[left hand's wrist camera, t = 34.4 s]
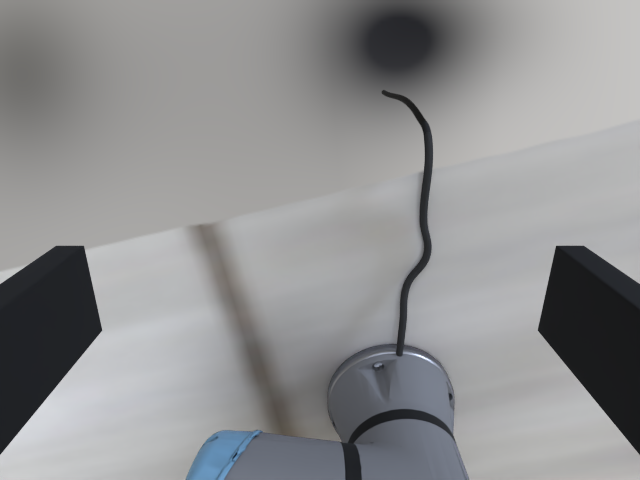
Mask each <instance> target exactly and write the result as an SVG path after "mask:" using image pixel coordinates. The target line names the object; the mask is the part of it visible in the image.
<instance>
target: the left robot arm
mask: <svg viewBox="0 0 640 480" xmlns="http://www.w3.org/2000/svg"><path fill="white" fill-rule="evenodd" d="M382 94H383V95H384V96H386V97H389V98H393V99H396V100H399V101H401V102H403V103H404V104H405V105H407V107H408V108H409V109H410V110H411V111H412V113H413V114H414V116H415V118H416V119H417V121H418V122H419V124H420V125H421V127H422V130H423V135H424V143H425V166H424V176H423V184H422V192H421V202H420V227H421V232H422V236H423V240H424V253H423V256H422V259H421V261H420V262H419V263H418V265H417V266H416V267H415V268H414V269H413V270H412V272H411V273H410V274H409V275H408V277H407V278H406V280H405V282H404V285H403V288H402V292H401V299H400V322H399V331H398V340H397V345H396V344H390V345H380V346H375V347H371V348H368V349H365V350H363V351H360V352H358V353H356V354H355V355H353V356H351V357H350V358H349V359H347V360H346V361H345V362H344V363H343V364H342V365H341V366H340V367H339V368H338V369H337V371H336V372H335V374H334V375H333V377H332V379H331V382H330V385H329V389H328V412H329V416H330V420H331V422H332V424H333V426H334V428H335V430H336V432H337V433H338V435H339V436H340V439H341V441H342V442H337V441H328V440H320V439H311V438H302V437H293V436H285V435H277V434H270V433H263V431H260V430H256V431H254V432H248V431H230V430H224V431H220V432H217V433H215V434H213V435H212V436H211V437H209V438H208V439H207V441H206V442H205V443H204V444H203V446H202V447H201V449H200V450H199V452H198V454H197V456H196V458H195V460H194V462H193V464H192V466H191V468H190V470H189V473H188V475H187V477H186V480H469V477H468V474H467V472H466V469H465V466H464V464H463V461H462V458H461V455H460V453H459V450H458V447H457V445H456V442H455V439H454V436H453V426H454V392H453V388H452V385H451V382H450V380H449V378H448V375H447V373H446V371H445V370H444V368H443V367H442V365H441V364H440V363H439V362H438V361H437V360H436V359H435V358H434V357H432V356H431V355H429V354H428V353H426V352H424V351H422V350H420V349H417V348H414V347H410V346H406V345H404V339H405V330H406V321H407V298H408V293H409V289H410V286H411V284H412V282H413V281H414V279H415V278H416V277H417V276H418V274H419V273H420V272H421V271H422V270H423V269H424V267H425V266H426V265H427V263H428V261H429V258H430V255H431V239H430V235H429V231H428V225H427V209H428V198H429V191H430V183H431V175H432V165H433V143H432V134H431V129H430V126H429V124H428V122H427V121H426V120H425V118H424V117H423V115H422V114H421V112H420V111H419V109H418V108H417V107H416V106H415V104H414V103H413V102H412V101H411V100H410V99H408V98H407V97H405V96H403V95H399V94H395V93H390V92H387V91H386V90H383V91H382ZM101 331H102V327H101V323H100V318H99V314H98V309H97V304H96V300H95V295H94V291H93V286H92V281H91V277H90V272H89V268H88V263H87V258H86V254H85V249H84V246H55V247H54V248H52V249H51V250H50V251H48V252H47V253H45V254H44V255H42V256H41V257H39V258H38V259H36V260H35V261H33V262H32V263H31V264H29V265H28V266H26V267H25V268H23V269H22V270H20V271H19V272H17V273H16V274H15V275H13V276H12V277H10V278H9V279H7V280H6V281H4V282H3V283H1V284H0V454H1V453H2V452H3V451H4V449H5V448H6V447H7V446H8V445H9V443H10V442H11V441H12V440H13V438H14V437H15V436H16V435H17V434H18V432H19V431H20V430H21V429H22V427H23V426H24V425H25V424H26V423H27V421H28V420H29V419H30V418H31V416H32V415H33V414H34V413H35V412H36V410H37V409H38V408H39V407H40V406H41V404H42V403H43V402H44V401H45V399H46V398H47V397H48V396H49V395H50V393H51V392H52V391H53V390H54V388H55V387H56V386H57V385H58V384H59V382H60V381H61V380H62V379H63V377H64V376H65V375H66V374H67V373H68V371H69V370H70V369H71V368H72V367H73V365H74V364H75V363H76V362H77V360H78V359H79V358H80V357H81V356H82V354H83V353H84V352H85V351H86V349H87V348H88V347H89V346H90V345H91V343H92V342H93V341H94V340H95V339H96V337H97V336H98V335H99V334H100V332H101ZM538 331H539V332H540V334H541V335H542V336H543V337H544V339H545V340H546V341H547V342H548V343H549V345H550V346H551V347H552V348H553V349H554V351H555V352H556V353H557V354H558V356H559V357H560V358H561V359H562V360H563V362H564V363H565V364H566V365H567V367H568V368H569V369H570V370H571V371H572V373H573V374H574V375H575V376H576V377H577V379H578V380H579V381H580V382H581V384H582V385H583V386H584V387H585V388H586V390H587V391H588V392H589V393H590V395H591V396H592V397H593V398H594V399H595V401H596V402H597V403H598V404H599V406H600V407H601V408H602V409H603V410H604V412H605V413H606V414H607V415H608V416H609V418H610V419H611V420H612V421H613V423H614V424H615V425H616V426H617V427H618V429H619V430H620V431H621V432H622V434H623V435H624V436H625V437H626V438H627V440H628V441H629V442H630V443H631V445H632V446H633V447H634V448H635V449H636V451H637V452H638V453H639V454H640V284H639V283H637V282H636V281H634V280H633V279H631V278H630V277H628V276H627V275H625V274H624V273H623V272H621V271H620V270H618V269H617V268H615V267H614V266H612V265H611V264H609V263H608V262H607V261H605V260H604V259H602V258H601V257H599V256H598V255H596V254H595V253H593V252H592V251H591V250H589V249H588V248H586V247H585V246H556V249H555V254H554V258H553V263H552V268H551V272H550V277H549V281H548V286H547V291H546V295H545V300H544V304H543V309H542V314H541V318H540V323H539V327H538Z"/></svg>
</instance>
